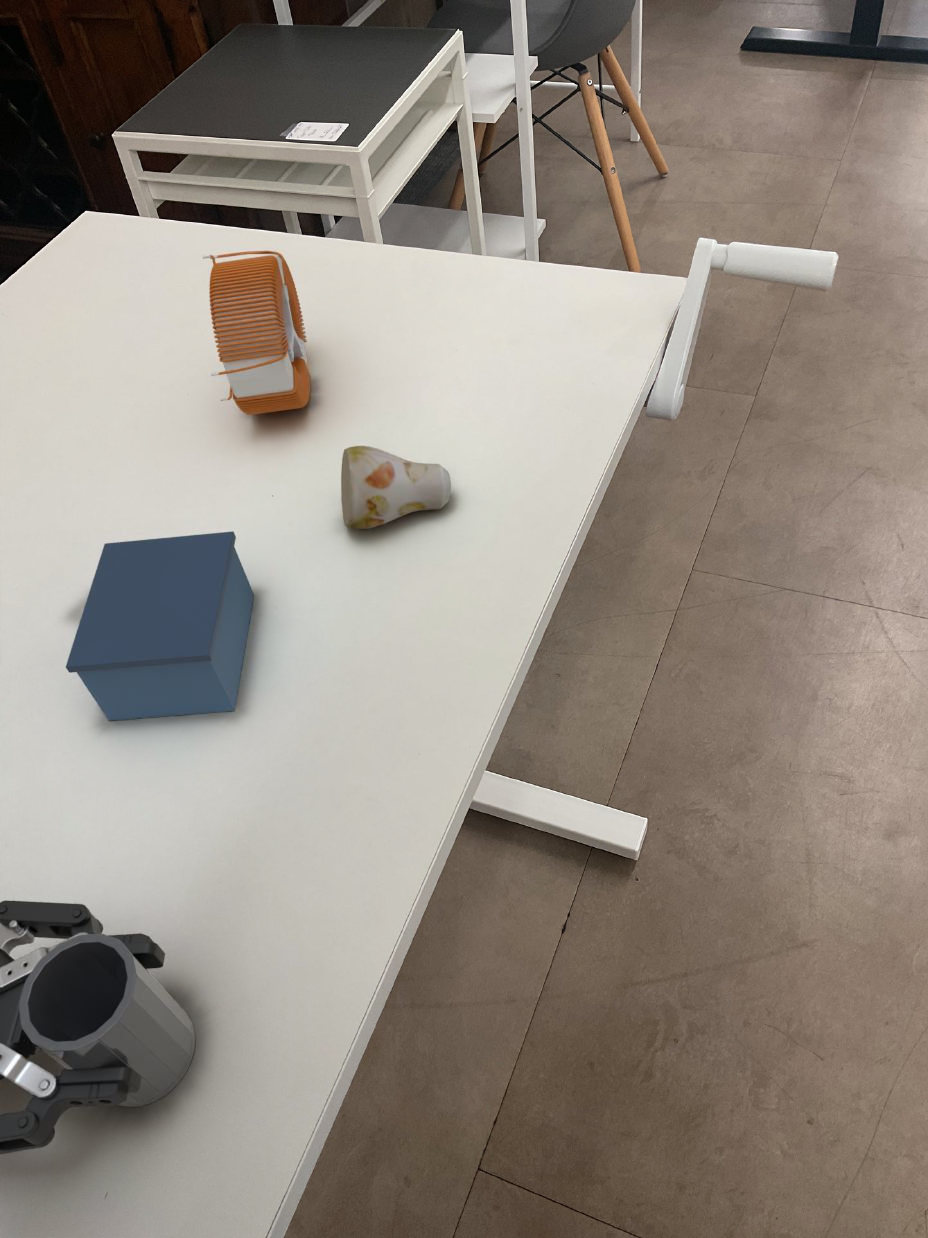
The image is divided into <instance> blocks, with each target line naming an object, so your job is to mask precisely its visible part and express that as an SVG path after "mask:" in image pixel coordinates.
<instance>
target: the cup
mask: <svg viewBox="0 0 928 1238" xmlns="http://www.w3.org/2000/svg"><path fill="white" fill-rule="evenodd" d="M61 942H62V943H61ZM61 942H59V943H60V944H59V943H58V944H59V945H57V944H56V945H57V946H56V947H55V948H53V949H52V950H51V951H50V952H49V953H47V954H46V955H45V956H44V957H43V958H42V959H40V961H38V963H37V964H36V966H35V967H34V969H33V970H32V972H31V973H30V975H29V977H28V978H27V980H26V981H25V984H24V987H23V991H22V994H21V998H20V1001H19V1013H20V1022H21V1026H22V1029H23V1030H24V1032H25V1033H26V1035H27V1036H28V1037H29V1039H30V1040H31V1042H32V1043H33V1044H34V1045H36V1046H37V1047H36V1048H38V1049H39V1050H41V1051H42V1052H44V1053H45V1054H46V1055H47V1056H49V1058H52V1059H53V1060H54V1061H56V1063H58V1064H59V1065H60V1066H62V1067H63V1068H64V1069H92V1068H104V1067H129V1068H132V1069H133V1070H134V1071H136V1072H137V1073H138V1074H139V1075H140V1076H141V1077H142V1078H141V1083H140V1088H139V1091H138V1092H136V1093H128V1095H127V1100H126V1101H124V1102H122V1103H120V1104H118V1105H119V1106H120V1107H121V1106H122V1107H126V1108H134V1107H142V1106H147V1105H149V1104H152V1103H154V1102H156V1101H158V1100H160V1099H163V1097H165V1096H167V1095H168V1094H169V1093H170V1092H171V1091H173V1089H175V1087H177V1085H178V1084H179V1083H180V1082H181V1081H182V1079H183V1078H184V1077H185V1075H186V1073H187V1072H188V1070H189V1068H190V1065H191V1063H192V1060H193V1057H194V1053H195V1049H196V1047H195V1046H196V1033H195V1028H194V1025H193V1022H192V1019H191V1017H190V1016H189V1015H188V1014H187V1012H186V1011H185V1010H184V1009H183V1007H182V1006H181V1005H180V1004H179V1003H178V1002H177V1000H176V999H175V998H174V997H173V995H171V994H170V993H169V992H168V991H167V990H166V988H165V987H164V986H163V985H162V984H161V983H160V982H159V980H157V979H156V978H155V977H154V975H153V974H152V973H151V972H150V971H149V969H146V968H145V967H144V966H143V965H142V963H141V962H140V961H139V960H138V959H137V958H136V957H135V956H134V955H133V954H132V953H131V951H130V950H129V949H128V948H127V947H126V946H125V945H124V944H123V943H122V942H121V941H120V940H118V939H115V938H113V937H110V936H108V935H107V934H106V933H101V934H85V935H79V936H76V937H74V938H72V939H69V940H67V941H65V942H63V941H61ZM118 1105H117V1106H118Z"/></svg>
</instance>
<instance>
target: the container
mask: <svg viewBox="0 0 928 1238" xmlns="http://www.w3.org/2000/svg"><path fill="white" fill-rule="evenodd" d="M236 539H237V537H236V534H235V532H234V531H222V532H215V533H214V532H212V533H211V532H210V533H203V534H202V533H201V534H192V535H190V534H189V535H179V536H170V537H161V538H160V537H158V538H149V539H148V538H147V539H139V540H138V539H137V540H129V541H128V540H126V541H118V542H117V541H116V542H105V543H104V545H103V548H102V550H101V554H100V557H99V560H98V562H97V563H98V564H97V567H96V569H95V573H94V576H93V579H92V582H91V585H90V589H89V591H88V595H87V598H86V602H85V604H84V608H83V611H82V613H81V616H80V621H79V624H78V626H77V630H76V633H75V636H74V638H73V642H72V645H71V648H70V652H69V655H68V659H67V661H66V664H65V668H66V670H67V671H68V673H76V674H77V676H78V677H79V679H81V681H82V683H83V684H84V686H85V688H86V689H87V690H88V692H89V694H90V695H91V697H92V698H93V699H94V701H95V702H96V704H97V706H98V707H99V709H100V710H101V711H102V713H103V715H104V716H105V718H106V719H107V721H109V722H110V721H111V722H112V721H123V720H125V721H126V720H137V719H149V718H160V717H161V718H162V717H173V716H186V715H199V714H211V713H226V712H234V711H235V710H236V703H237V698H238V693H239V686H240V680H241V674H242V669H243V663H244V658H245V657H244V656H245V651H246V645H247V639H248V633H249V627H250V621H251V615H252V611H253V610H252V609H253V603H254V598H255V594H254V591H253V589H252V586H251V584H250V581H249V579H248V576H247V574H246V571H245V569H244V567H243V564H242V562H241V560H240V557H239V555H238V552H237V550H236V548H235V543H236Z"/></svg>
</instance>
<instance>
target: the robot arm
mask: <svg viewBox="0 0 928 1238" xmlns="http://www.w3.org/2000/svg"><path fill="white" fill-rule="evenodd" d="M103 931H104V925H103V924H102V922H101V921H100V920H99V919H98V918H96V916H94V915H93V914H92V912H91V910H90V909H89V908H88V907H87V906H86V904H83V903H71V902H70V903H67V902H50V901H49V902H46V901H30V900H29V901H27V900H7V899H6V900H2V901H0V1082H2V1081H3V1080H4V1079H6V1080H7V1081H9V1082H10V1083H12V1084H14V1085H15V1086H17V1087H19V1088H20V1089H22V1090H23V1091H25V1092H27V1093H28V1094H30V1095H32V1097H31V1099H30V1100H29V1102H28V1104H27V1105H26V1107H25V1109H24V1110H18V1111H13V1112H7V1113H1V1114H0V1155H5V1154H10V1153H11V1154H12V1153H17V1152H22V1151H28V1150H35V1149H40V1148H45V1147H47V1146H48V1145H49V1144H50V1143H52V1141H53V1139H54V1137H55V1134H56V1130H55V1126H56V1124H57V1122H58V1120H59V1119H60V1118H61V1115H62V1114H64V1112H65V1111H68V1110H69V1109H72V1108H79V1107H80V1108H81V1107H82V1108H85V1107H99V1106H100V1107H104V1106H118V1104H120V1103H122V1102H124V1101H126V1100H127V1095H128V1093H136V1092H138V1091H139V1088H140V1083H141V1078H142V1077H141V1076H140V1075H139V1074H138V1073H137V1072H136V1071H134V1070H133V1069H132V1068H129V1067H104V1068H92V1069H66V1068H64V1069H61V1071H60V1075H54V1074H53V1073H51V1072H49V1071H48V1070H47V1069H45V1068H43V1067H41V1066H39V1065H38V1064H36V1063H34V1062H33V1061H31V1060H29V1058H30V1056H34V1055H36V1050H37V1048H38V1047H37V1046H36V1045H34V1044H33V1043H32V1042H31V1040H30V1039H29V1037H28V1036H27V1035H26V1033H25V1032H24V1030H23V1029H22V1026H21V1022H20V1013H19V1001H20V998H21V994H22V991H23V987H24V984H25V981H26V980H27V978H28V977H29V975H30V973H31V972H32V970H33V969H34V967H35V966H36V964H37V963H38V961H40V959H42V958H43V957H44V956H45V955H46V954H47V953H49V952H50V951H51V950H52V949H53V948H55V947H56V946H57V945H59V944H60V943H62V942H65V941H67V940H69V939H72V938H74V937H76V936H79V935H85V934H103ZM108 936H110V937H113V938H115V939H118V940H120V941H121V942H122V943H123V944H124V945H125V946H126V947H127V948H128V949H129V950H130V951H131V953H132V954H133V955H134V956H135V957H136V958H137V959H138V960H139V961H140V962H141V963H142V965H143V966H144V967H145V968H146V969H147V970H151V969H152V970H153V969H161V968H163V967H164V963H165V958H166V952H165V951H164V950H163V949H162V948H161V947H160V946H159V944H158V943H157V942H155V941H154V940H153V939H152V938H151V937H150V936H149V935H146V934H145V933H141V932H140V933H126V934H124V933H123V934H122V933H121V934H109V935H108ZM35 938H38V939H39V938H42V939H59V940H60V939H61V940H62V941H60V942H58V943H56V944H55V945H53V946H50V947H45V946H44V947H39V948H36V949H34V950H32V951H30V952H28V953H26V954H24V955H23V956H20V957H18V958H17V959H15V958H13V957H12V956H11V955H10V953H11V952H12V951H13V950H14V949H15V948H16V947H18V946H24V945H27V944H28V945H31V944H33V943H34V941H35Z"/></svg>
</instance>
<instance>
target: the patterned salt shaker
mask: <svg viewBox="0 0 928 1238" xmlns="http://www.w3.org/2000/svg"><path fill="white" fill-rule="evenodd" d="M341 459H342V460H341V472H340V495H341V497H340V499H341V510H342V512H341V513H342V519H343V524H344V526H345V527H347V528H353V529H356V530H357V529H358V530H363V529H364V530H365V529H373V528H377V527H379V526H382V525H385V524H387V523H389V522H392V521H394V520H397V519H398V518H401V517H403V516H406V515H408V514H410V513H415V512H418V511H428V510H429V511H430V510H440V509H442V508H444V506H445V505H447V503H448V502H449V500H450V498H451V489H452V481H451V476H450V475H451V474H450V473H449V471H448V470H447V469H446V468H445V467H443V466H442V465H441V464H439V463H423V462H422V463H421V462H415V461H411V460H407V459H404V458H402V457H401V456H397V455H395V454H392V453H390V452H387V451H385V450H382V449H380V448H376V447H374V446H368V445H355V446H349V447H347V448H344V450H343V452H342V458H341Z"/></svg>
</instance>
